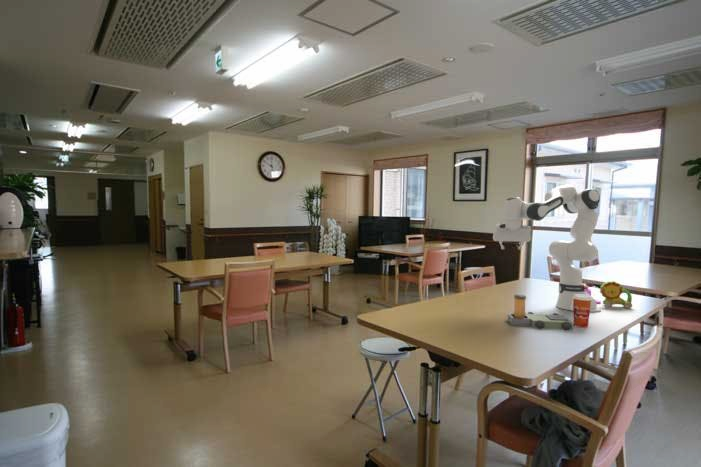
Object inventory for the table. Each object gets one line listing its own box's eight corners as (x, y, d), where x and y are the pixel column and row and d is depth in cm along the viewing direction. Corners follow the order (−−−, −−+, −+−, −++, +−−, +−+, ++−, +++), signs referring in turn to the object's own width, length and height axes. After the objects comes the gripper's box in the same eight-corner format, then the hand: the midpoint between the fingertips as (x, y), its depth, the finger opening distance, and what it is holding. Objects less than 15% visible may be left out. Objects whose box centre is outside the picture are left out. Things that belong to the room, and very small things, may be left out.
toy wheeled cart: (561, 321, 199) (561, 313, 198) (573, 330, 183) (574, 322, 183) (524, 319, 201) (524, 311, 201) (533, 328, 186) (533, 320, 186)
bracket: (578, 299, 248) (579, 288, 248) (586, 298, 249) (586, 288, 249) (594, 304, 235) (595, 292, 235) (602, 303, 236) (603, 292, 236)
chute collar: (526, 321, 198) (526, 314, 198) (531, 326, 189) (531, 319, 189) (507, 320, 200) (507, 313, 199) (512, 325, 191) (512, 318, 190)
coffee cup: (571, 326, 190) (573, 296, 189) (570, 322, 197) (572, 293, 196) (591, 329, 186) (593, 298, 185) (590, 324, 193) (591, 295, 192)
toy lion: (628, 306, 229) (630, 281, 228) (632, 309, 224) (633, 283, 223) (598, 304, 234) (599, 279, 233) (600, 306, 229) (602, 281, 228)
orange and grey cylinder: (521, 321, 197) (522, 294, 196) (527, 324, 192) (528, 296, 191) (511, 321, 197) (512, 294, 196) (516, 325, 191) (517, 297, 190)
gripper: (529, 225, 224) (528, 249, 225) (492, 224, 227) (491, 248, 228) (532, 225, 217) (532, 250, 218) (494, 225, 221) (494, 249, 222)
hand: (511, 249), depth 223 cm, fingers open, 8 cm apart
